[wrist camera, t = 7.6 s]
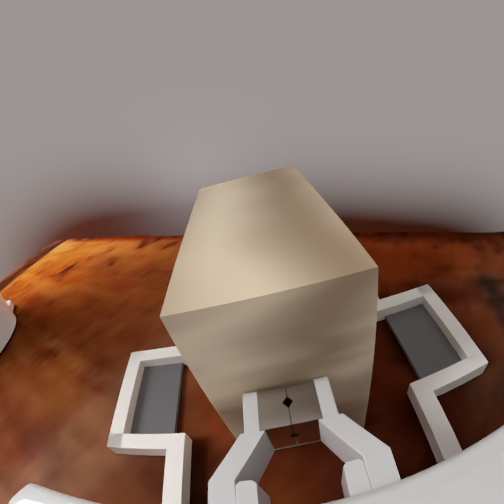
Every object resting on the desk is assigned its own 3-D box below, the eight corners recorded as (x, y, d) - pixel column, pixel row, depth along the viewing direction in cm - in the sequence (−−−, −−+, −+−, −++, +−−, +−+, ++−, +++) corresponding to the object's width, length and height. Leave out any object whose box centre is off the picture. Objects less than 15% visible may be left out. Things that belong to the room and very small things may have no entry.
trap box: (100, 604, 3) (60, 600, 2) (156, 298, 27) (143, 272, 26) (551, 513, 2) (586, 494, 1) (383, 244, 26) (382, 215, 24)
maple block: (247, 454, 12) (159, 316, 8) (239, 310, 23) (200, 188, 18) (363, 428, 12) (378, 266, 7) (314, 292, 23) (293, 166, 18)
